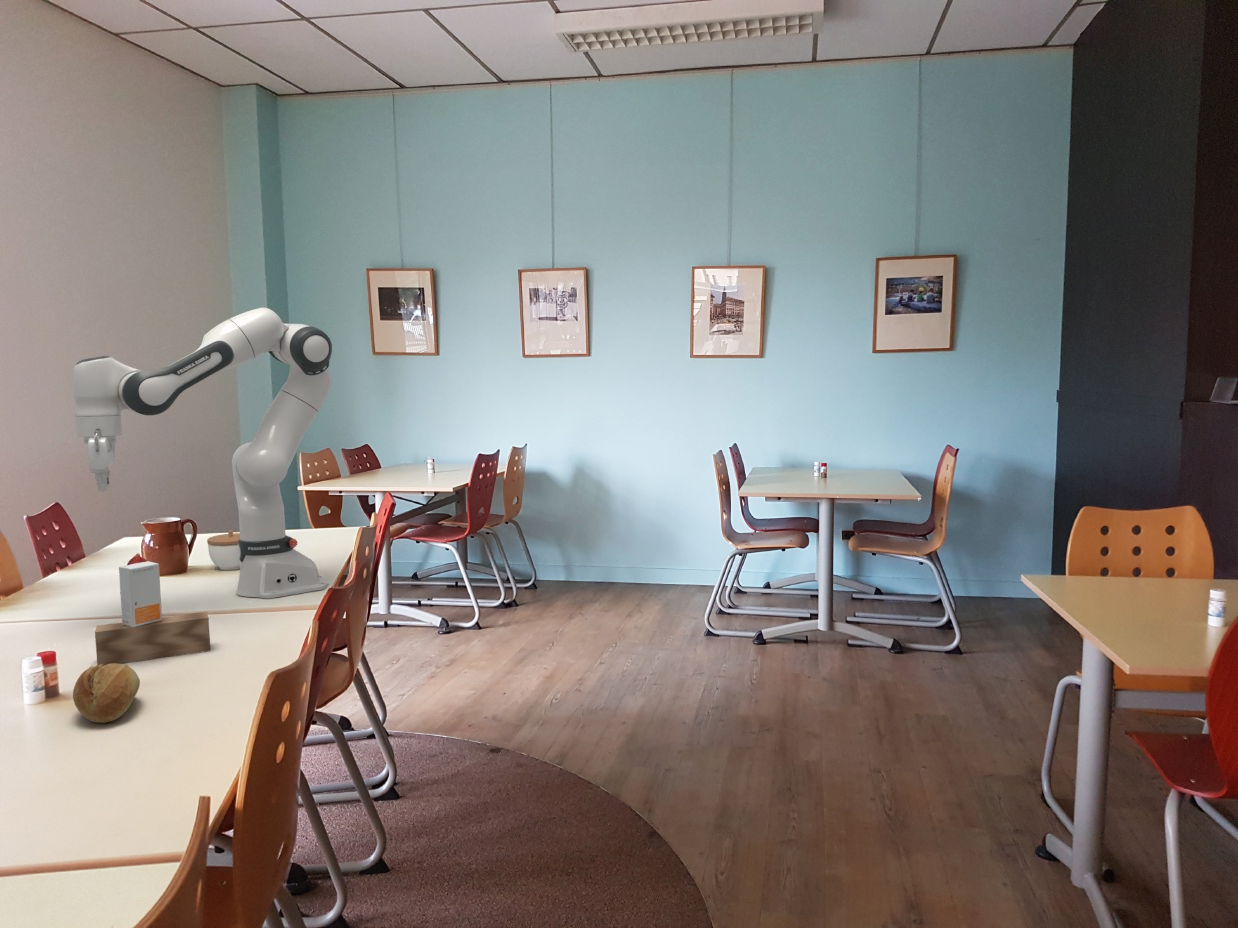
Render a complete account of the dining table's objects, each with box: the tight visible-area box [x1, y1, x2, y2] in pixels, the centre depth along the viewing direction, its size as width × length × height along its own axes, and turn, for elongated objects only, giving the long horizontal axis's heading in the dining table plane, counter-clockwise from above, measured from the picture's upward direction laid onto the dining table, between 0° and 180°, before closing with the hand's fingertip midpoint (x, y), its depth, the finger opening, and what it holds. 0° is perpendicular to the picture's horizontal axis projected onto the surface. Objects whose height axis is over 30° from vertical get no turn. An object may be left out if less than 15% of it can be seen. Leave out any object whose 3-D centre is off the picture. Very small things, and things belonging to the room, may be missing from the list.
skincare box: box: [118, 560, 163, 627], centre depth 170 cm, size 6×4×12 cm
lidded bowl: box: [206, 530, 241, 571], centre depth 249 cm, size 13×13×11 cm
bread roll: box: [72, 663, 141, 724], centre depth 143 cm, size 10×15×8 cm, turn 27°
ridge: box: [94, 611, 211, 666], centre depth 171 cm, size 20×5×7 cm, turn 118°
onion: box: [126, 552, 148, 566], centre depth 232 cm, size 6×6×8 cm
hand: (103, 488), depth 192 cm, fingers open, 8 cm apart
